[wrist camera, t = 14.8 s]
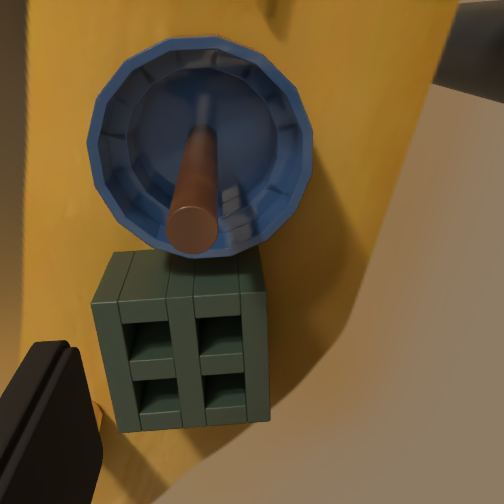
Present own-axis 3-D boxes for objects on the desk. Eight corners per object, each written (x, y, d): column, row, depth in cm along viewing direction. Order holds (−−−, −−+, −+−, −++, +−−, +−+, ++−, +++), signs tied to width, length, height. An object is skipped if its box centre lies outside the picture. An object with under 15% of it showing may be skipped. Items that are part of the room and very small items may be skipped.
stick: (216, 123, 30) (216, 204, 17) (218, 153, 31) (220, 253, 18) (186, 125, 30) (162, 207, 17) (188, 154, 31) (168, 256, 17)
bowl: (297, 30, 29) (314, 31, 24) (297, 218, 34) (311, 251, 29) (93, 39, 28) (67, 42, 23) (124, 229, 34) (109, 264, 29)
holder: (257, 242, 35) (266, 291, 28) (261, 357, 39) (270, 421, 33) (113, 252, 34) (89, 303, 28) (134, 367, 39) (118, 434, 32)
